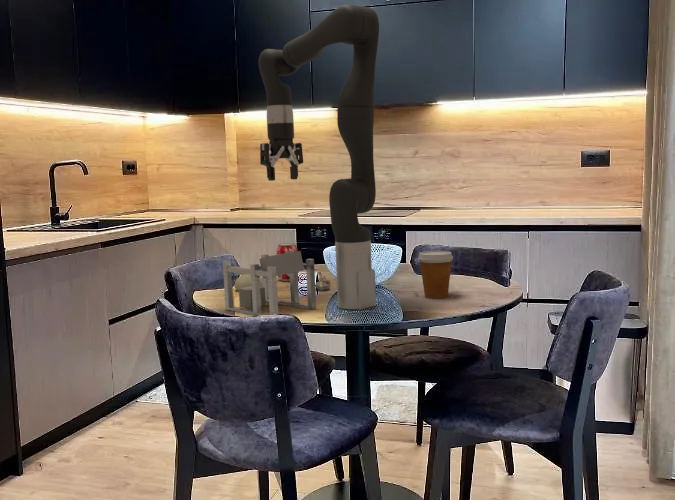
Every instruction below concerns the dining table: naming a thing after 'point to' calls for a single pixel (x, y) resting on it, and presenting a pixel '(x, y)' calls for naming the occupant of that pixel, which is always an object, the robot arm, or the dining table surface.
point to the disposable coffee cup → (435, 272)
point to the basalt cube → (250, 297)
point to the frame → (269, 287)
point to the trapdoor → (282, 263)
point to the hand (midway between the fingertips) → (283, 179)
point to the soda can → (284, 249)
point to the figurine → (323, 283)
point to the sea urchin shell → (245, 281)
